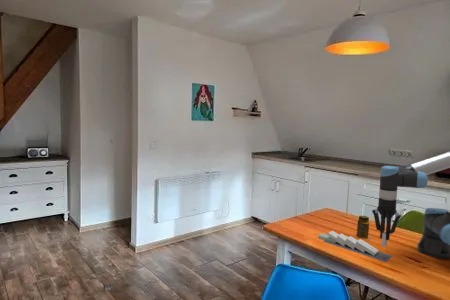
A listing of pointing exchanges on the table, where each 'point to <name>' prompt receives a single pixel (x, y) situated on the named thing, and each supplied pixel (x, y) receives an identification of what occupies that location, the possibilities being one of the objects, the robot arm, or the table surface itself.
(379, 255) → the mat
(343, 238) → the domino
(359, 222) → the condiment
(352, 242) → the domino
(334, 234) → the domino
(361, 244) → the domino
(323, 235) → the domino
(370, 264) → the table surface
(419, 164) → the robot arm
